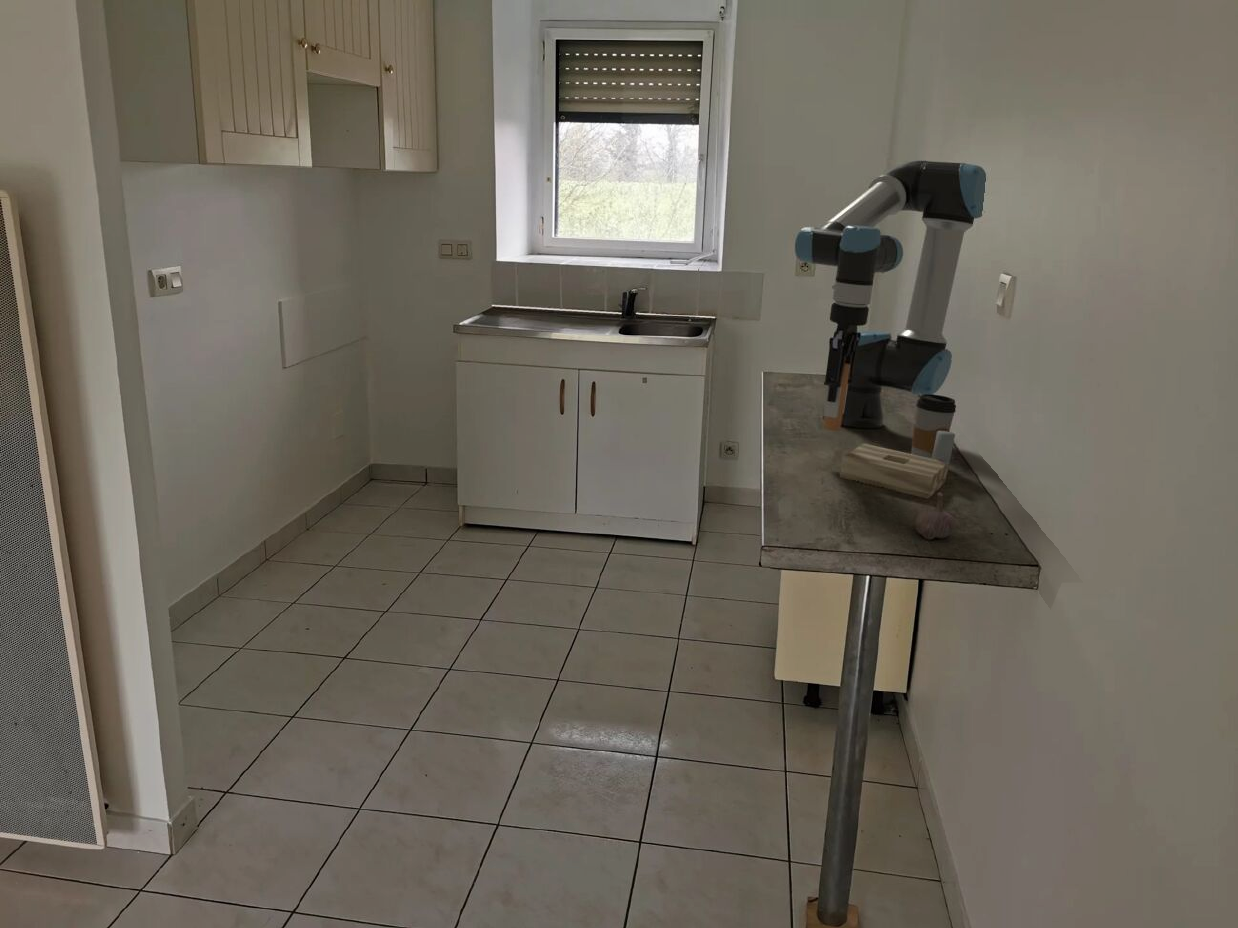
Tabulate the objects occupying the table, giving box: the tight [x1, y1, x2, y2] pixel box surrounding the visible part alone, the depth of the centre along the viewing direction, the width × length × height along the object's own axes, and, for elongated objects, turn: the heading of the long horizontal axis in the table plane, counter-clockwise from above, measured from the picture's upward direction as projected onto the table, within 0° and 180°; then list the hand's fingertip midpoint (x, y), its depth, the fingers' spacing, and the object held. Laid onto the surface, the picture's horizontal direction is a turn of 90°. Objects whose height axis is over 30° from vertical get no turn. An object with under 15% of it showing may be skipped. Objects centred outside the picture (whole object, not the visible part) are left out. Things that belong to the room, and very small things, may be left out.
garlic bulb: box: [914, 492, 958, 540], centre depth 166 cm, size 8×7×8 cm
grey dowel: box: [932, 431, 956, 482], centre depth 201 cm, size 4×4×10 cm
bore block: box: [839, 443, 950, 500], centre depth 197 cm, size 14×18×4 cm
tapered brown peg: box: [822, 363, 850, 432], centre depth 202 cm, size 4×4×14 cm
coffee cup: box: [910, 394, 957, 459], centre depth 211 cm, size 8×8×15 cm
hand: (833, 414), depth 203 cm, fingers closed on tapered brown peg, 3 cm apart
